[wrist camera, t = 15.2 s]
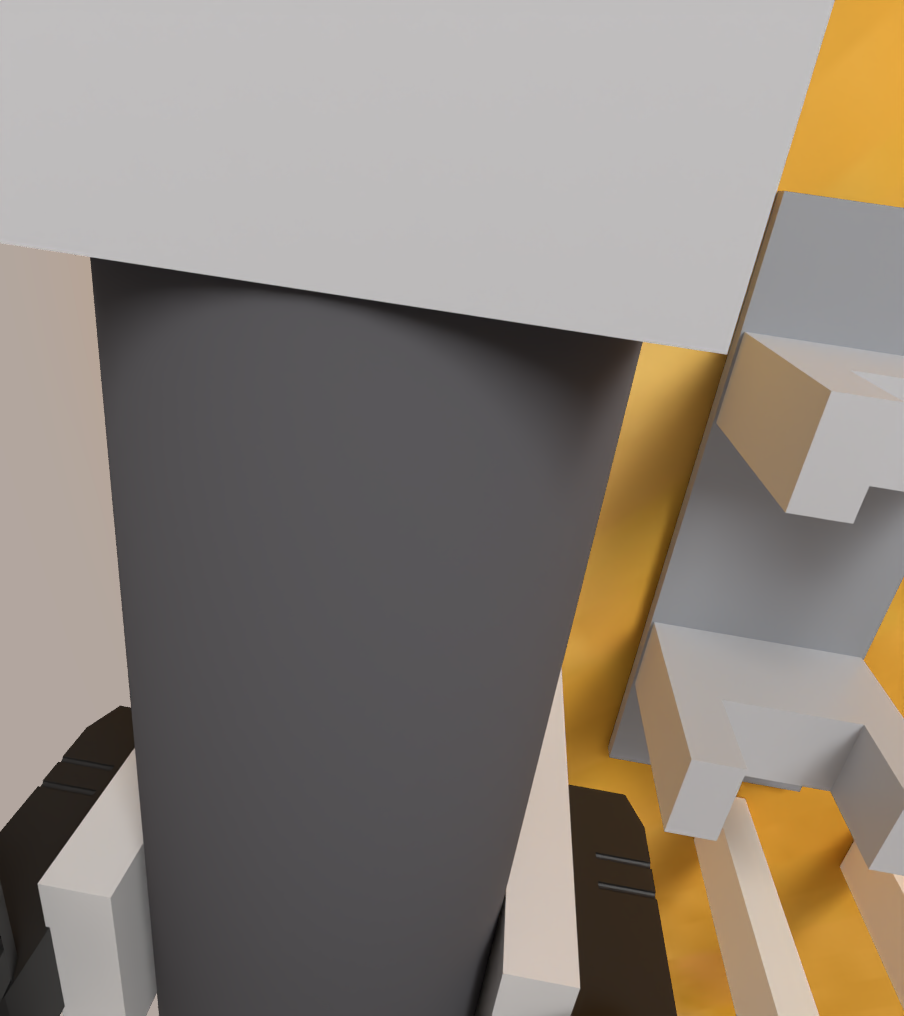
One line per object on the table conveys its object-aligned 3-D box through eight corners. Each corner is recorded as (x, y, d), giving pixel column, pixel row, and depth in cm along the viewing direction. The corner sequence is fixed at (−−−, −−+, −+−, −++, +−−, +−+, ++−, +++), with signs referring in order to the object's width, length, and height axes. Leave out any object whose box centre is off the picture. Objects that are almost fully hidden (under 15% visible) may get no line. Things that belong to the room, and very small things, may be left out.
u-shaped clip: (713, 792, 30) (791, 1061, 21) (898, 826, 30) (1061, 1115, 20) (693, 839, 31) (759, 1112, 22) (870, 872, 31) (1013, 1164, 22)
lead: (228, -2, 6) (-195, -268, 3) (670, 58, 6) (877, -139, 2) (236, 1085, 14) (134, 1394, 11) (429, 1123, 14) (393, 1451, 11)
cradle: (777, 190, 20) (901, 191, 13) (1056, 230, 20) (1329, 252, 13) (608, 746, 30) (629, 913, 23) (794, 780, 29) (873, 960, 22)
